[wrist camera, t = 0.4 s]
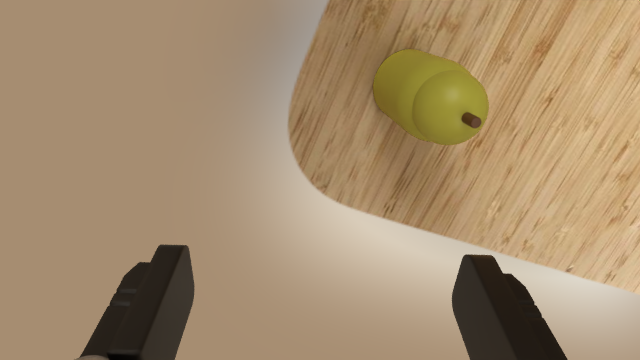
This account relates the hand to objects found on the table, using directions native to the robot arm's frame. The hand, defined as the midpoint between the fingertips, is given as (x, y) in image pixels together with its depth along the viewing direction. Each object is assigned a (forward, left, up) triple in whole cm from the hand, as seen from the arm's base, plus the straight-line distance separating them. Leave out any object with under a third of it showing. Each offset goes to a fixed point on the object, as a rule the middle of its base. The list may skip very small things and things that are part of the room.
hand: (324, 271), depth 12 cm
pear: (-2, +9, -19) cm, 21 cm away
